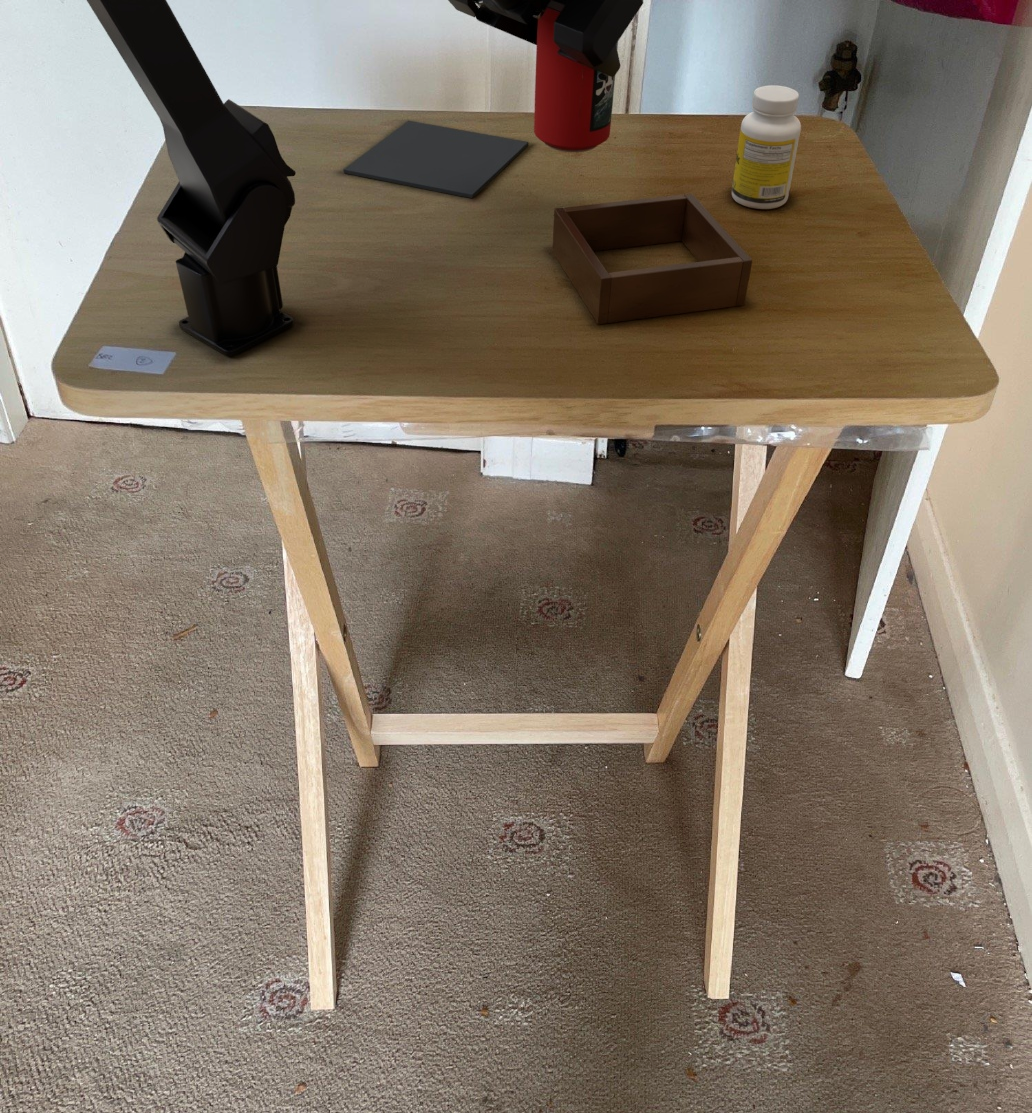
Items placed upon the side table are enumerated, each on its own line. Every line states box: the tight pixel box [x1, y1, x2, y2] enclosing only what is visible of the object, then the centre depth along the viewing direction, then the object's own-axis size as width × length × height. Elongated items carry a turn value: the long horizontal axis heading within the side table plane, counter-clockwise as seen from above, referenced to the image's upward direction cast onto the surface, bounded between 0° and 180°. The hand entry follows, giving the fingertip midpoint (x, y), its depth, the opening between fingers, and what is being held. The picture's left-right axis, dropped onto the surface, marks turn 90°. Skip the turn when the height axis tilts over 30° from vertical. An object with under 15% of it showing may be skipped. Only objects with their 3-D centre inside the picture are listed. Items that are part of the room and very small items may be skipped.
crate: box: [552, 193, 753, 325], centre depth 86 cm, size 13×13×4 cm
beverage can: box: [533, 8, 619, 153], centre depth 88 cm, size 7×7×12 cm
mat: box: [342, 120, 529, 199], centre depth 105 cm, size 14×14×1 cm
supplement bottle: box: [731, 84, 802, 210], centre depth 96 cm, size 5×5×10 cm
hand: (588, 60), depth 88 cm, fingers closed on beverage can, 7 cm apart
